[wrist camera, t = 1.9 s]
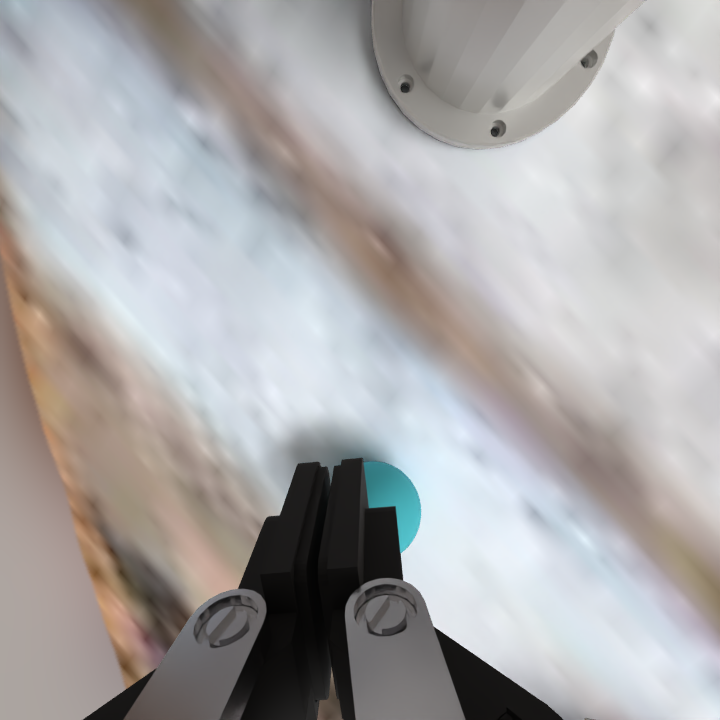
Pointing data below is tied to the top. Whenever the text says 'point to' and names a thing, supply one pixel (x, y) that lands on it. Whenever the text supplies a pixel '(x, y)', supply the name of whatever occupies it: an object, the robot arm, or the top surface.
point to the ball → (394, 497)
